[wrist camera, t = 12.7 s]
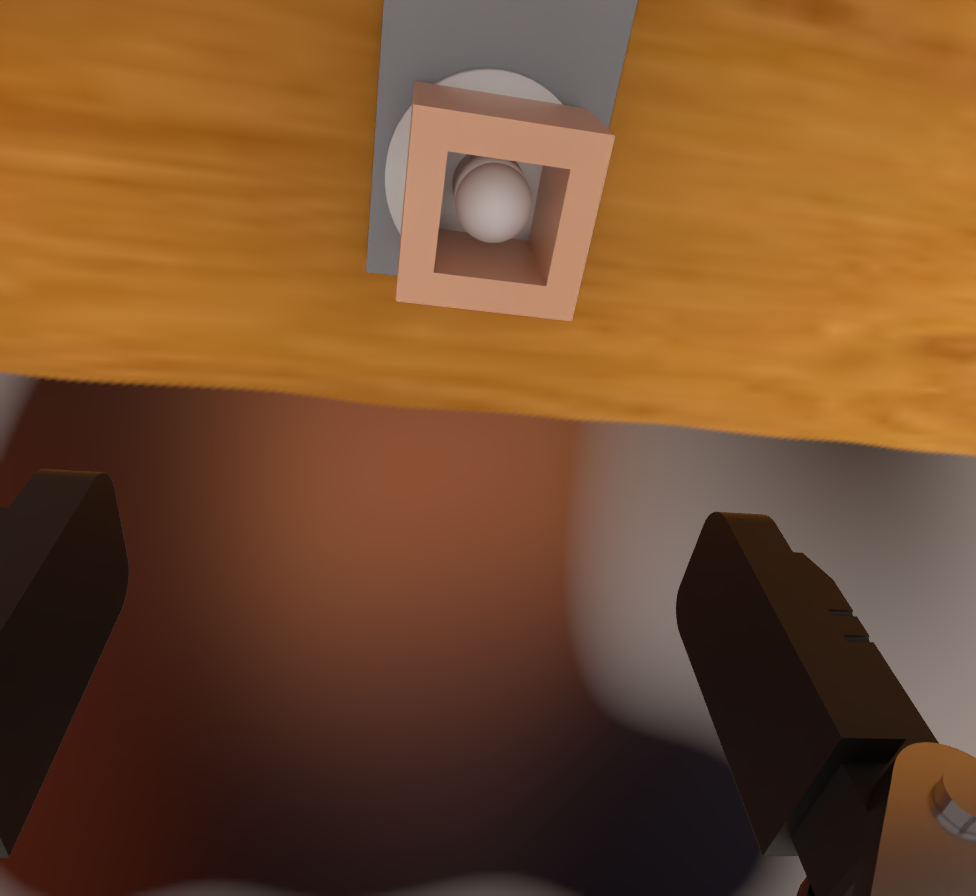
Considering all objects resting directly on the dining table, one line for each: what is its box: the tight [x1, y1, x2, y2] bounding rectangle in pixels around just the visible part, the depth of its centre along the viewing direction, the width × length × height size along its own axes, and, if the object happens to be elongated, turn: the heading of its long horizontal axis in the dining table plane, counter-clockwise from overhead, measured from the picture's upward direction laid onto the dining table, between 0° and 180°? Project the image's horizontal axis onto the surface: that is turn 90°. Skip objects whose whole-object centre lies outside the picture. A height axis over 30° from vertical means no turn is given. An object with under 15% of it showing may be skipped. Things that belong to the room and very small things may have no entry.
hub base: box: [366, 0, 638, 276], centre depth 26 cm, size 17×9×6 cm, turn 171°
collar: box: [396, 81, 615, 321], centre depth 26 cm, size 6×6×5 cm
